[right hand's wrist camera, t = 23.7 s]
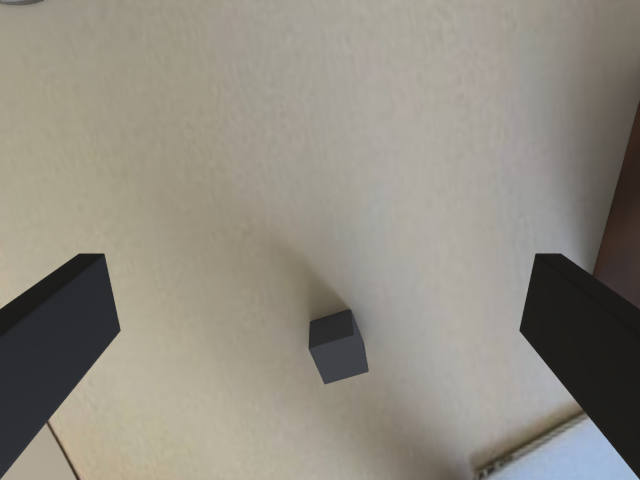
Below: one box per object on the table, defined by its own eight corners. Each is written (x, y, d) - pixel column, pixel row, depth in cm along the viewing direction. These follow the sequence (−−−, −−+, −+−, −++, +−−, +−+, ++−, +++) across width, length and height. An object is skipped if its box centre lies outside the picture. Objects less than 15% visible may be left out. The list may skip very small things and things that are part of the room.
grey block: (309, 321, 46) (308, 348, 42) (350, 309, 46) (354, 334, 41) (324, 355, 48) (324, 384, 43) (364, 343, 47) (368, 371, 43)
